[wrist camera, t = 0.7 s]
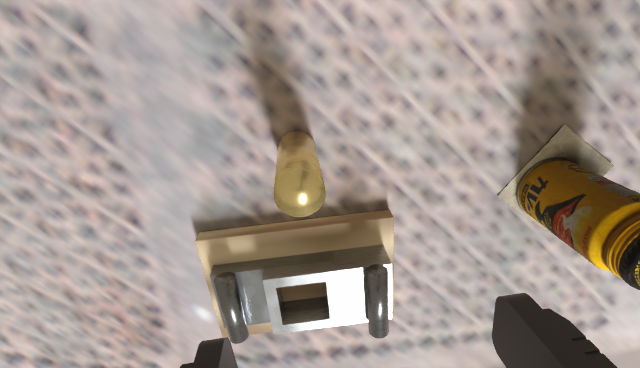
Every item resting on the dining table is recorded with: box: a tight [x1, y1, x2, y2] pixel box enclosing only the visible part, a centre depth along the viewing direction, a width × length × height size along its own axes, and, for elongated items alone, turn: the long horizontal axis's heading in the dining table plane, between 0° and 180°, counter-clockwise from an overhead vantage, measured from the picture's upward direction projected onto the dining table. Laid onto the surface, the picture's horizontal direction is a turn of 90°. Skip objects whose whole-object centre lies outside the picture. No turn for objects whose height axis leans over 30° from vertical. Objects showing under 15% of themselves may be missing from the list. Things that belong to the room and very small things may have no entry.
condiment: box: [498, 124, 640, 290], centre depth 27 cm, size 7×8×12 cm
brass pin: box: [274, 131, 326, 217], centre depth 25 cm, size 3×3×9 cm
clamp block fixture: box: [195, 210, 394, 344], centre depth 32 cm, size 12×18×6 cm, turn 95°
